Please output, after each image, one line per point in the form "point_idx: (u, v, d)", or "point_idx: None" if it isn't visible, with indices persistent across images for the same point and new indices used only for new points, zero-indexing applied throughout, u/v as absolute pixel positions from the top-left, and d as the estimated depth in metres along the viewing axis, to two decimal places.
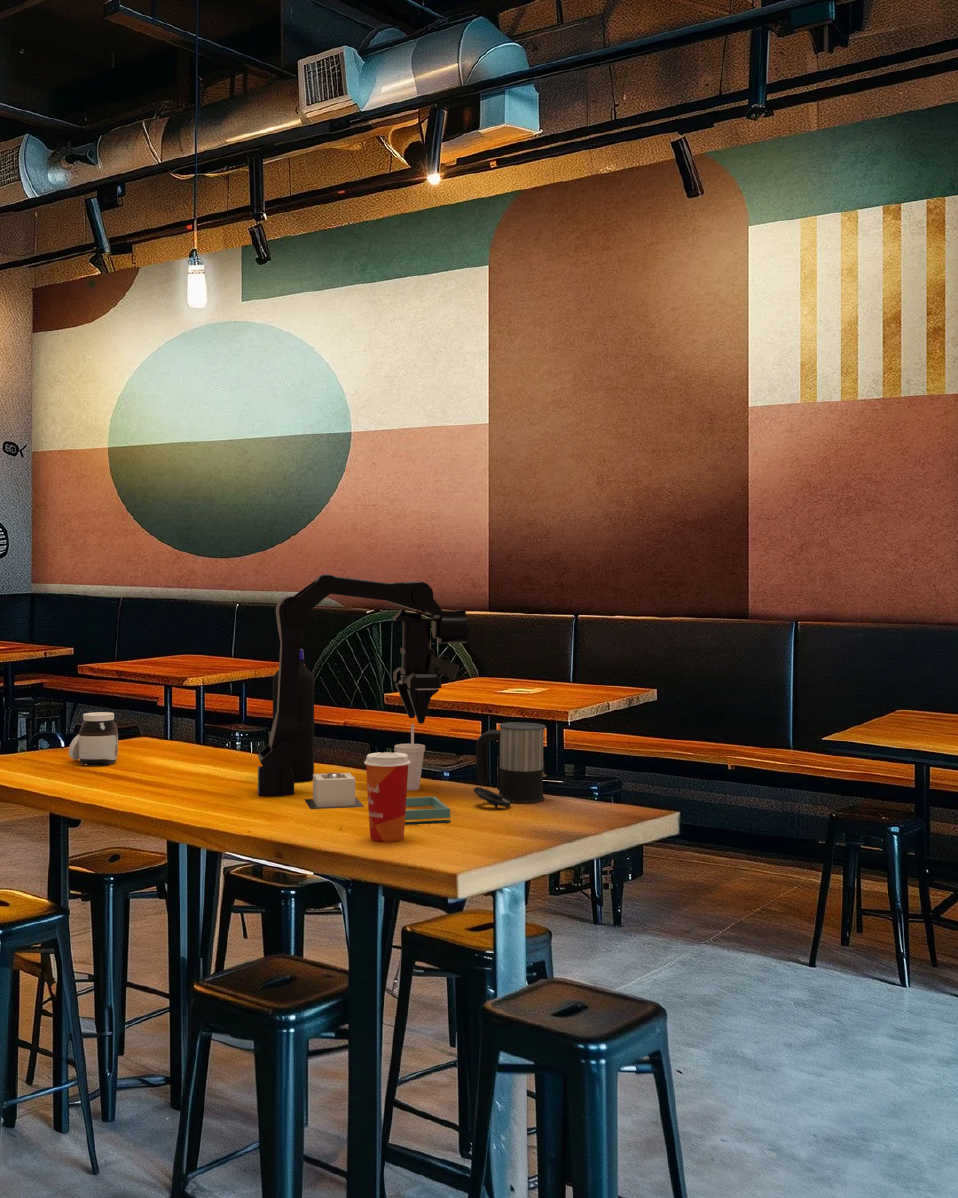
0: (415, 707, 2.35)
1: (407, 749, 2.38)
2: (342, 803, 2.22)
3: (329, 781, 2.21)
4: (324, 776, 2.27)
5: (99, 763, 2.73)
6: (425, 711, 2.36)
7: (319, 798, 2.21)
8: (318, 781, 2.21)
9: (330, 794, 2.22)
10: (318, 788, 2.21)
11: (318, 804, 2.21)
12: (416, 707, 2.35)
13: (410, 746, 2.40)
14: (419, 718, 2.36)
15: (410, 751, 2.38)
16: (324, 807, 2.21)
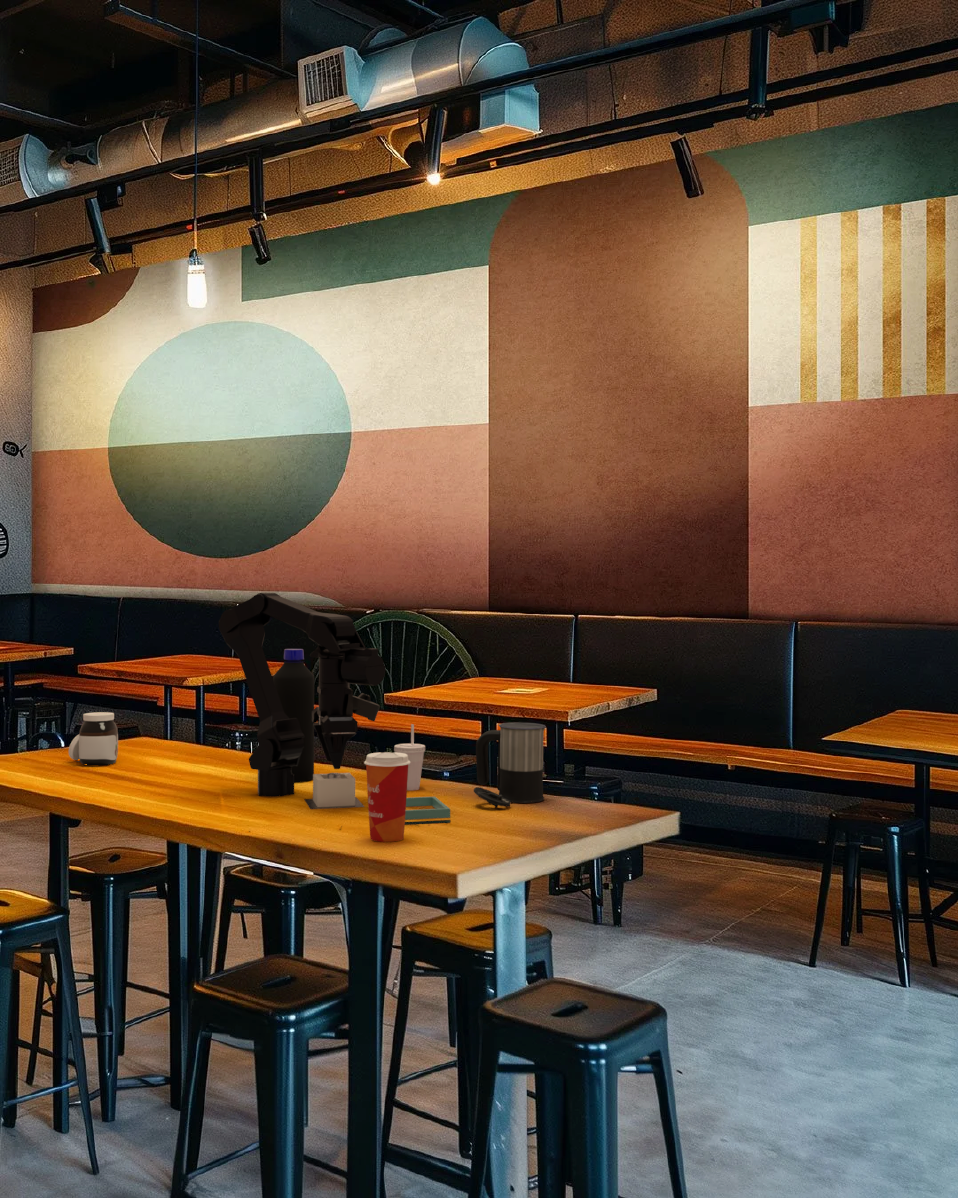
0: (330, 752, 2.19)
1: (407, 749, 2.38)
2: (342, 803, 2.22)
3: (329, 781, 2.21)
4: (324, 776, 2.27)
5: (99, 763, 2.73)
6: (341, 756, 2.20)
7: (319, 798, 2.21)
8: (318, 781, 2.21)
9: (330, 794, 2.22)
10: (318, 788, 2.21)
11: (318, 804, 2.21)
12: (331, 752, 2.19)
13: (410, 746, 2.40)
14: (335, 763, 2.20)
15: (410, 751, 2.38)
16: (324, 807, 2.21)
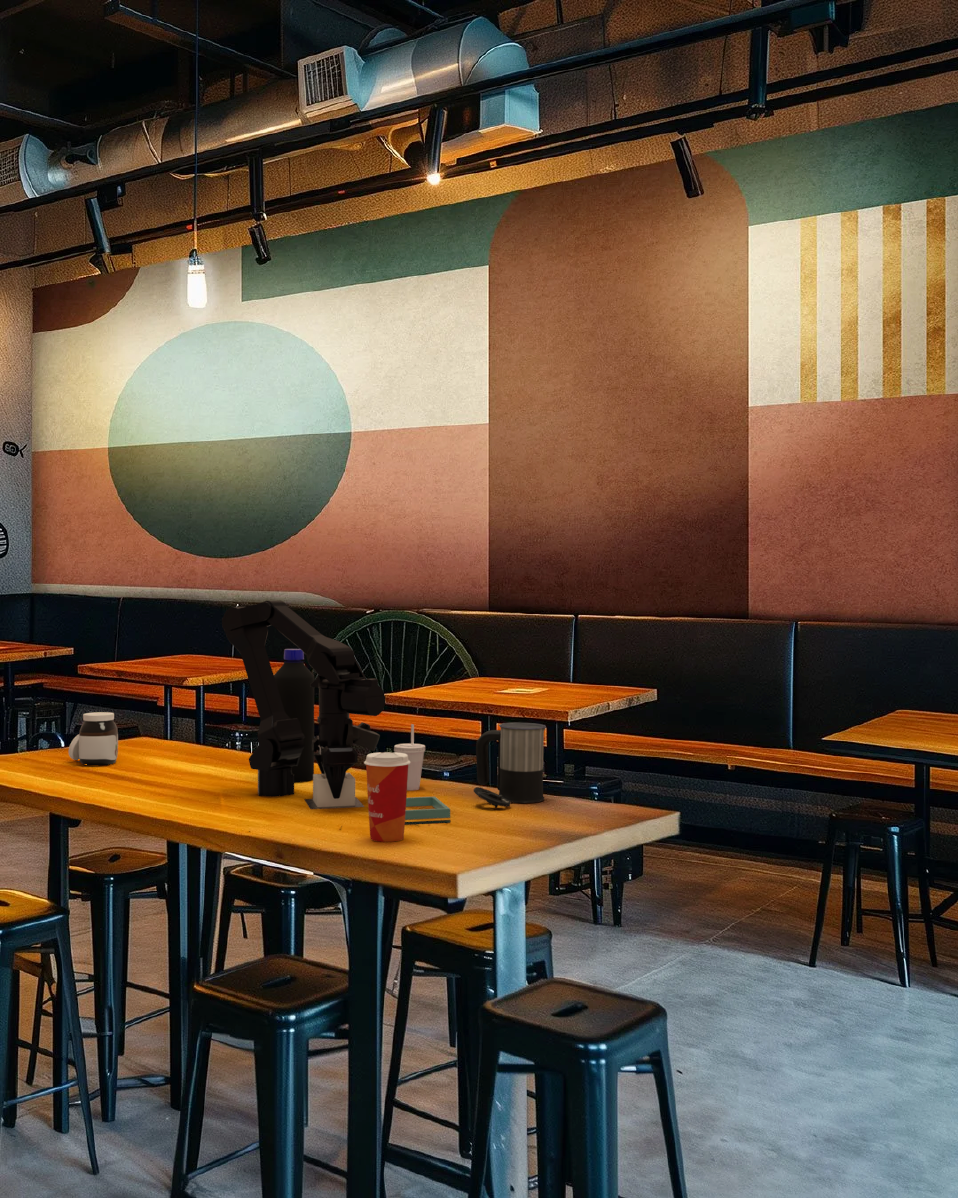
0: (329, 781, 2.20)
1: (407, 749, 2.38)
2: (342, 803, 2.22)
3: None
4: (324, 776, 2.27)
5: (99, 763, 2.73)
6: (340, 785, 2.21)
7: (319, 798, 2.21)
8: (318, 781, 2.21)
9: (330, 794, 2.22)
10: (318, 788, 2.21)
11: (318, 804, 2.21)
12: (331, 781, 2.20)
13: (410, 746, 2.40)
14: (334, 793, 2.21)
15: (410, 751, 2.38)
16: (324, 807, 2.21)
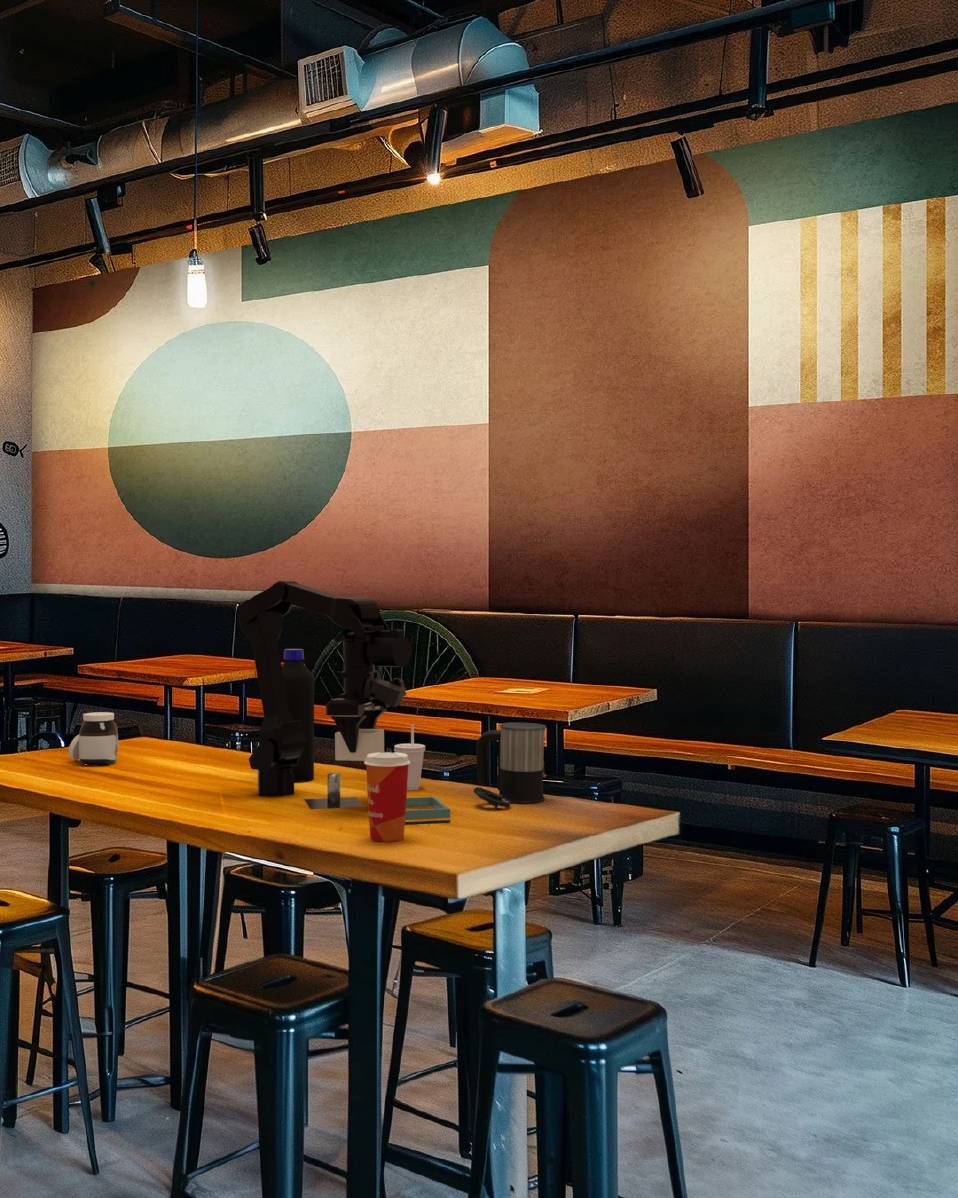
0: (343, 734, 2.18)
1: (407, 749, 2.38)
2: (359, 758, 2.18)
3: None
4: None
5: (99, 763, 2.73)
6: (354, 739, 2.17)
7: (337, 751, 2.20)
8: (336, 734, 2.20)
9: (347, 748, 2.19)
10: (336, 741, 2.20)
11: (336, 757, 2.20)
12: (344, 735, 2.18)
13: (410, 746, 2.40)
14: (349, 747, 2.18)
15: (410, 751, 2.38)
16: (324, 807, 2.21)
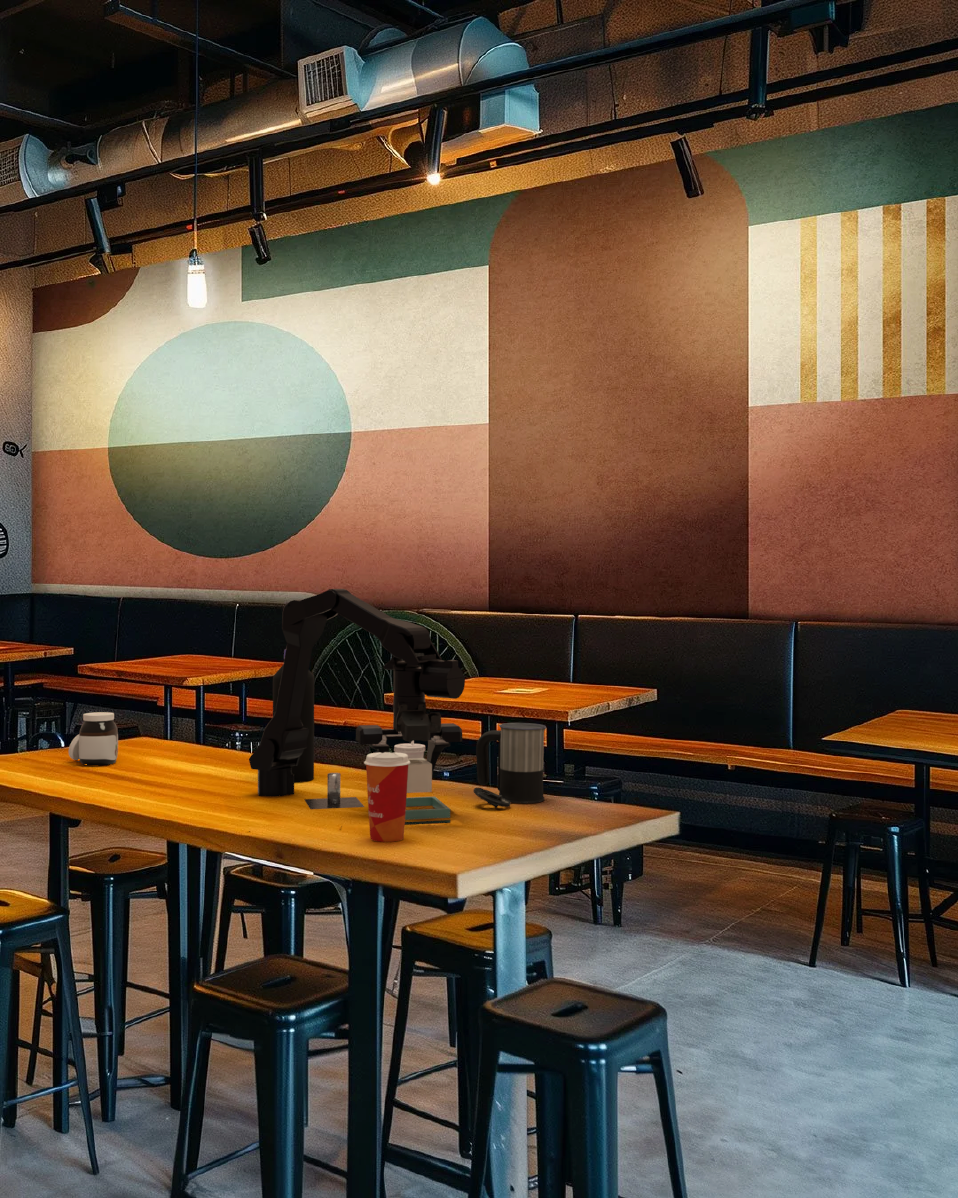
0: None
1: (407, 749, 2.38)
2: None
3: None
4: (419, 761, 2.19)
5: (99, 763, 2.73)
6: None
7: None
8: None
9: None
10: None
11: None
12: None
13: (410, 746, 2.40)
14: None
15: (410, 751, 2.38)
16: (324, 807, 2.21)
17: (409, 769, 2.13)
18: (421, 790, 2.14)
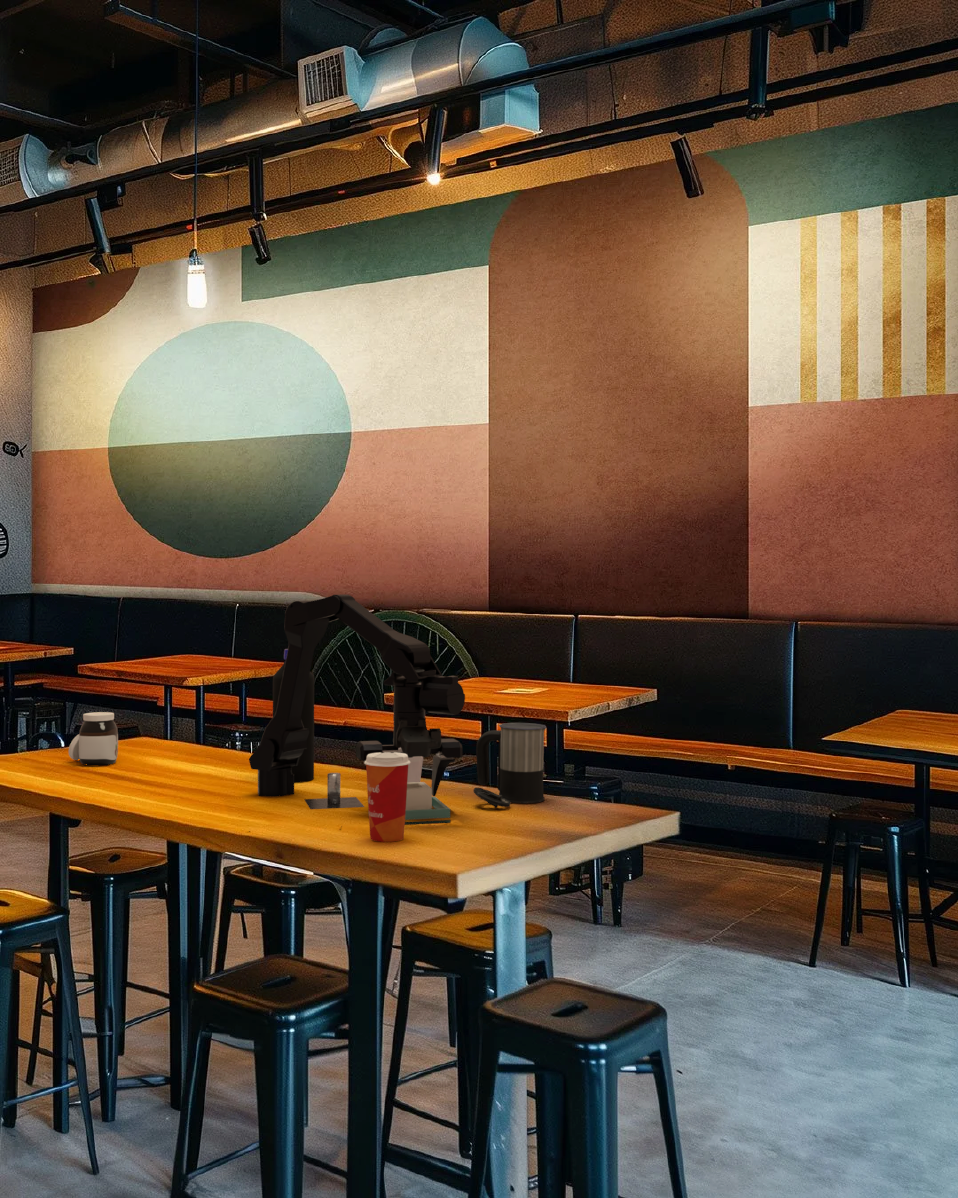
0: None
1: None
2: None
3: None
4: (419, 785, 2.19)
5: (99, 763, 2.73)
6: None
7: None
8: None
9: None
10: None
11: None
12: None
13: None
14: None
15: None
16: (324, 807, 2.21)
17: (409, 794, 2.13)
18: None
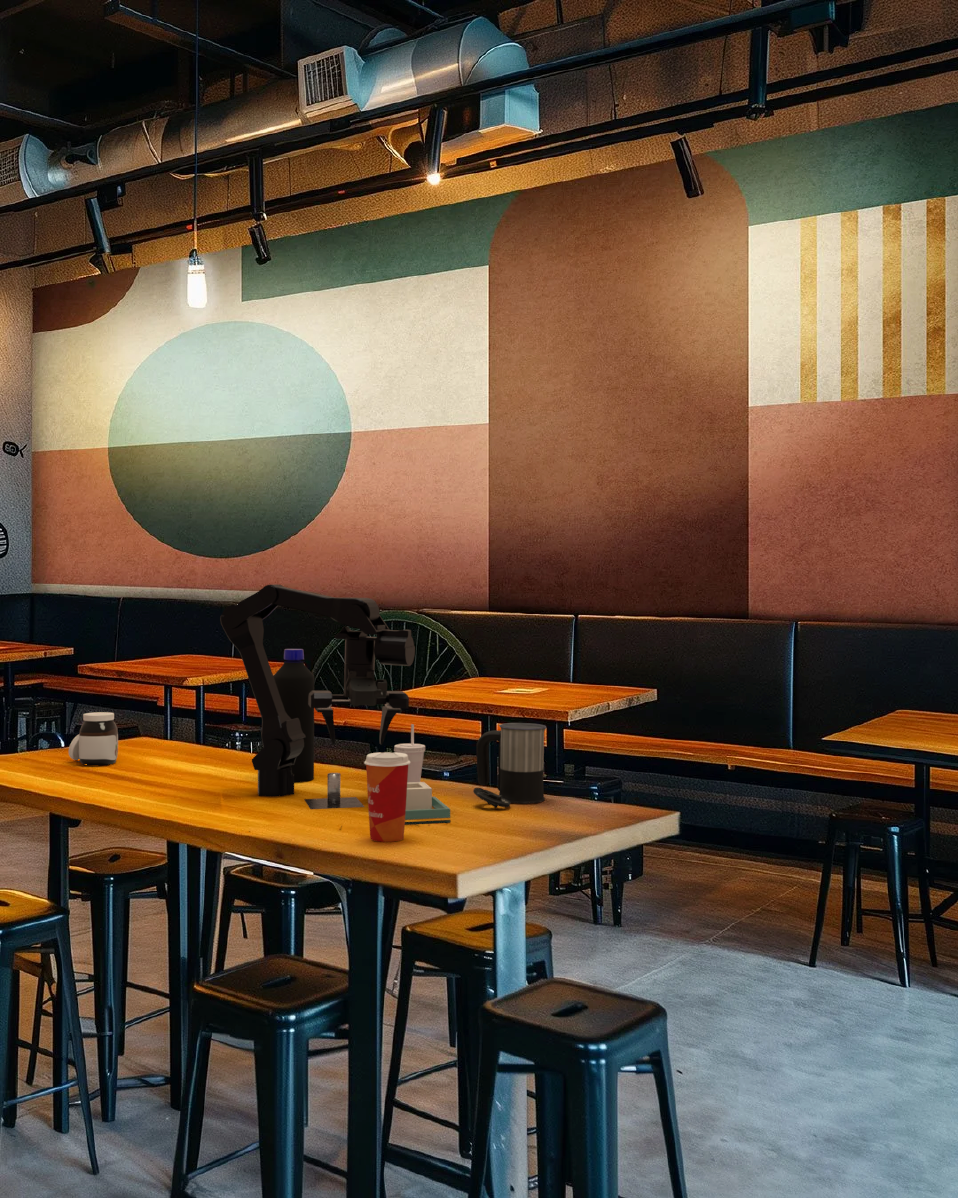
0: None
1: (407, 749, 2.38)
2: None
3: None
4: (419, 785, 2.19)
5: (99, 763, 2.73)
6: (329, 732, 2.28)
7: None
8: None
9: None
10: None
11: None
12: (327, 726, 2.29)
13: (410, 746, 2.40)
14: None
15: (410, 751, 2.38)
16: (324, 807, 2.21)
17: (409, 794, 2.13)
18: None
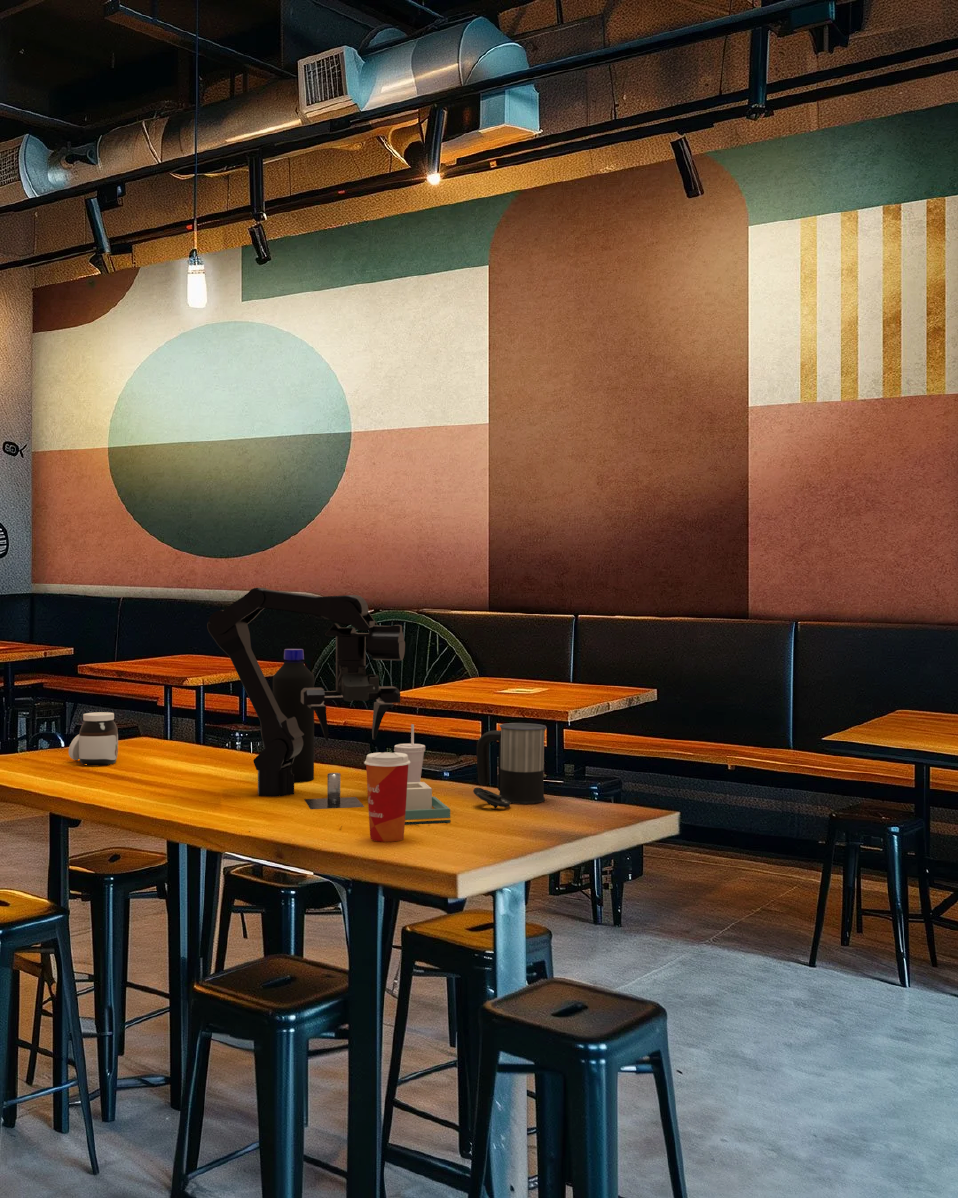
0: None
1: (407, 749, 2.38)
2: None
3: None
4: (419, 785, 2.19)
5: (99, 763, 2.73)
6: (322, 728, 2.30)
7: None
8: None
9: None
10: None
11: None
12: (320, 722, 2.32)
13: (410, 746, 2.40)
14: None
15: (410, 751, 2.38)
16: (324, 807, 2.21)
17: (409, 794, 2.13)
18: None
